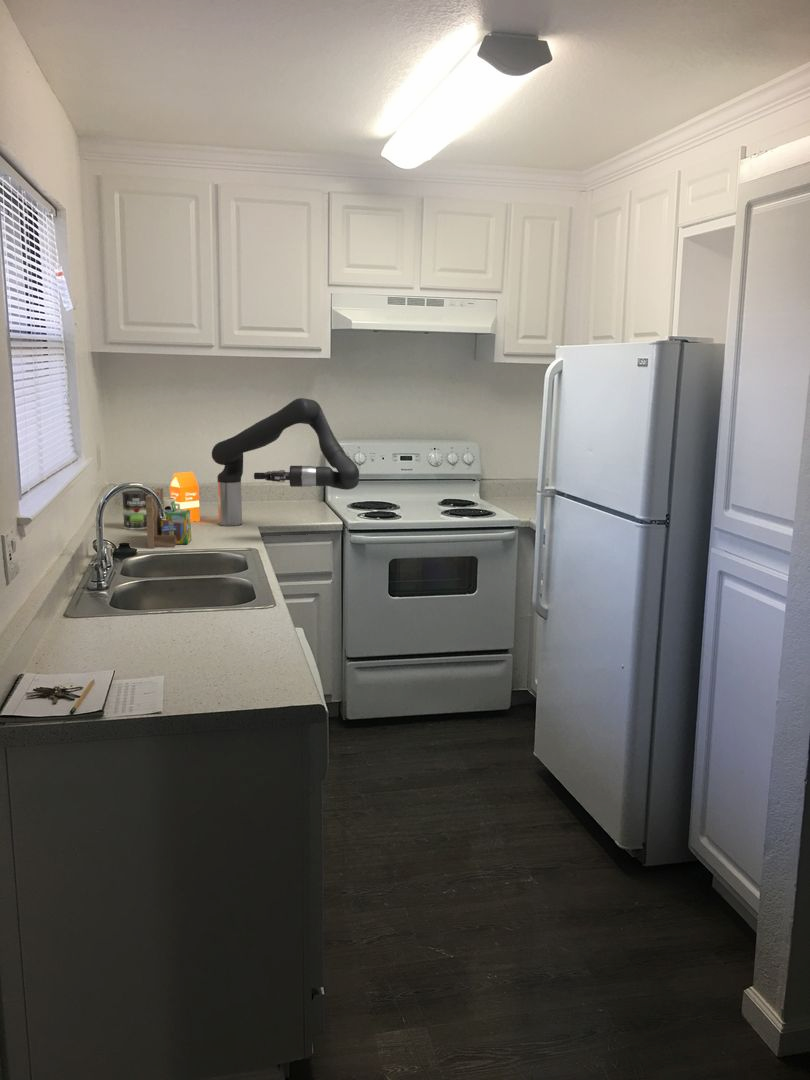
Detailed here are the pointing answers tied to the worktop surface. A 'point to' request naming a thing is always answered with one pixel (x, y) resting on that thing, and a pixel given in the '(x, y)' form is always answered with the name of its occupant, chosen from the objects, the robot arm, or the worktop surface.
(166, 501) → the character mug
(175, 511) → the chalk box
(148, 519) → the display bay
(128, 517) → the coffee can
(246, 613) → the worktop surface
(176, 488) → the orange juice
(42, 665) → the worktop surface
